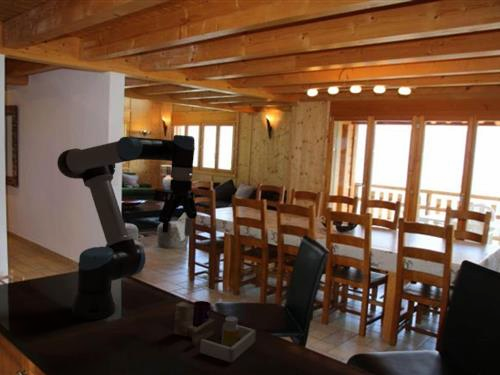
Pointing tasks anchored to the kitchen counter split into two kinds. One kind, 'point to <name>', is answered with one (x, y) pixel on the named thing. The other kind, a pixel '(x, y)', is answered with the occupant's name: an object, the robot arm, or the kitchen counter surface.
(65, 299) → the kitchen counter surface
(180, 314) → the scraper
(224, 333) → the supplement bottle
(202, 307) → the mug
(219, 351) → the corral
